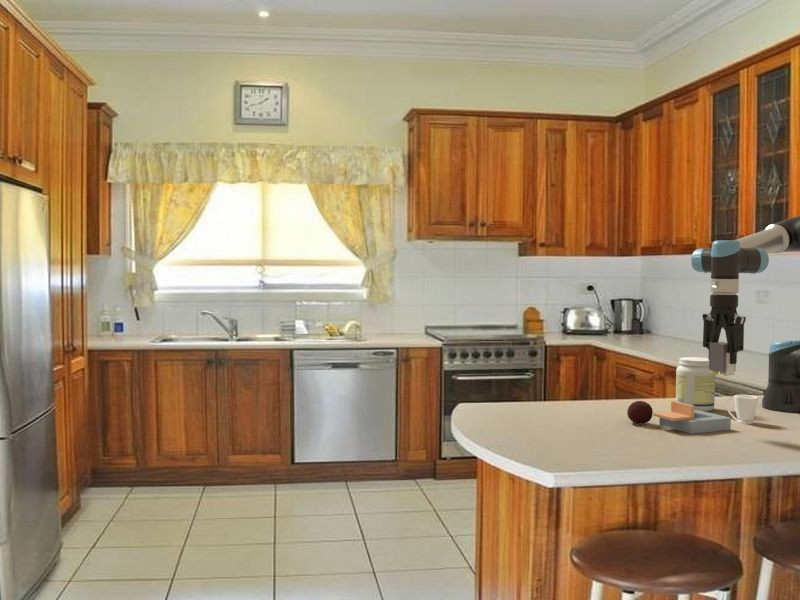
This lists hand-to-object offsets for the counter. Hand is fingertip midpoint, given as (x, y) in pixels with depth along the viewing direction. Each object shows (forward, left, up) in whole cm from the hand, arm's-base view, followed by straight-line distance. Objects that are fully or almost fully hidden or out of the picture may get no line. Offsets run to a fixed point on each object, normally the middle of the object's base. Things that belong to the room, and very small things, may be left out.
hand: (721, 373), depth 223 cm
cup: (-17, -8, -17) cm, 25 cm away
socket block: (+3, -7, -17) cm, 18 cm away
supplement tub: (-19, -29, -17) cm, 38 cm away
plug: (0, 0, 0) cm, 0 cm away
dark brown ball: (+15, -17, -17) cm, 28 cm away
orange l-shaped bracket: (+11, -7, -13) cm, 19 cm away
